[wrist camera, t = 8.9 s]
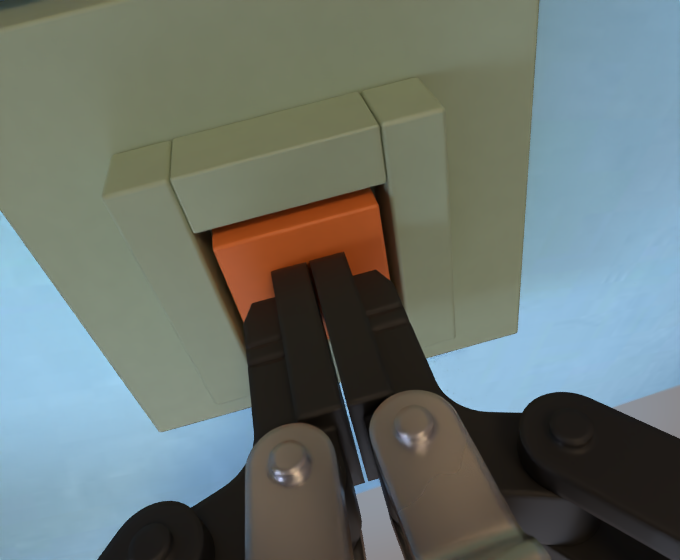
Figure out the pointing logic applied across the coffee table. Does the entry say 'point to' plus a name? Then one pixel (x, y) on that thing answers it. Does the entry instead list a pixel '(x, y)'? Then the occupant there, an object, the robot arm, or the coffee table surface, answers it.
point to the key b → (299, 244)
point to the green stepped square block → (261, 163)
